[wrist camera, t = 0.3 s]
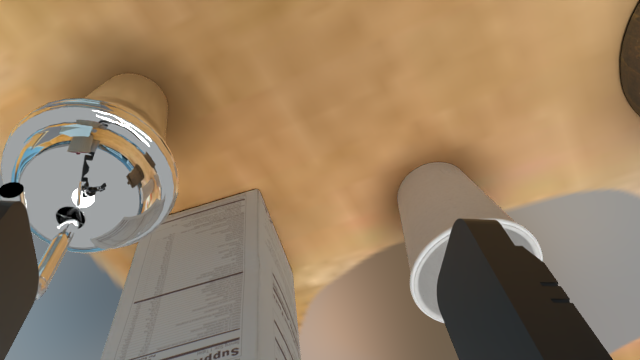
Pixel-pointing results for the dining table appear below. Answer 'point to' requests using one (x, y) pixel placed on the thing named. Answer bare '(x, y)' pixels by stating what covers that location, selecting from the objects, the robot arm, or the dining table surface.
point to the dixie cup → (444, 224)
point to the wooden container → (632, 62)
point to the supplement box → (209, 289)
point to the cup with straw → (92, 170)
